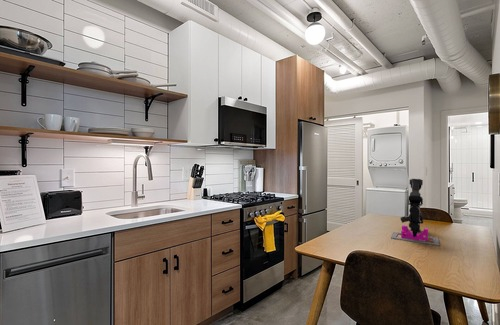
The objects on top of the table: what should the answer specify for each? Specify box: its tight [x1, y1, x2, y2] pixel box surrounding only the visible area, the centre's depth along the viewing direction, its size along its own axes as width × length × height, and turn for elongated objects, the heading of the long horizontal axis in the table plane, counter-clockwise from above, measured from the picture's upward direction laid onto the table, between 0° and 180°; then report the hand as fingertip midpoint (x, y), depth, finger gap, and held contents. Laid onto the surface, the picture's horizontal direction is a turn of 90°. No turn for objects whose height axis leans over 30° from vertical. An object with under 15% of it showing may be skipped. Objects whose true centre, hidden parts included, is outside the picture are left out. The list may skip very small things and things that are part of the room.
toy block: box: [400, 224, 429, 242], centre depth 179 cm, size 15×6×8 cm, turn 52°
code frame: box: [390, 231, 440, 247], centre depth 179 cm, size 18×27×1 cm, turn 56°
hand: (414, 235), depth 179 cm, fingers closed on toy block, 6 cm apart
